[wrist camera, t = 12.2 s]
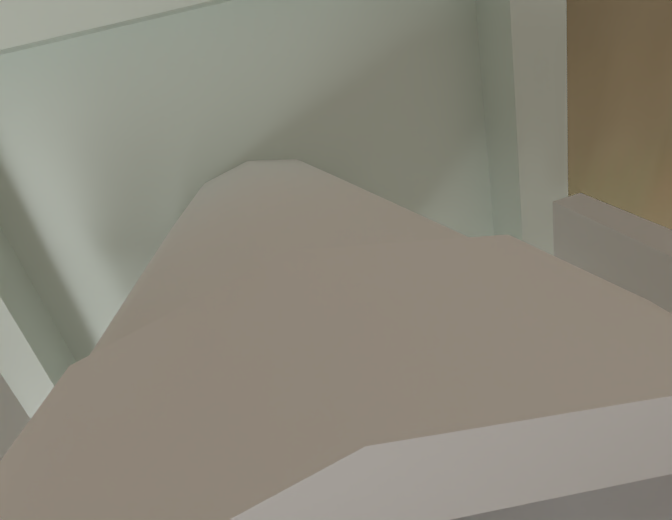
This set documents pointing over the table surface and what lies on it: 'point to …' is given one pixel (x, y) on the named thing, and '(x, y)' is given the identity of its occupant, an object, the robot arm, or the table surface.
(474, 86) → the tray
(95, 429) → the foam cup
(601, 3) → the table surface
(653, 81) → the table surface
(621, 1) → the table surface
